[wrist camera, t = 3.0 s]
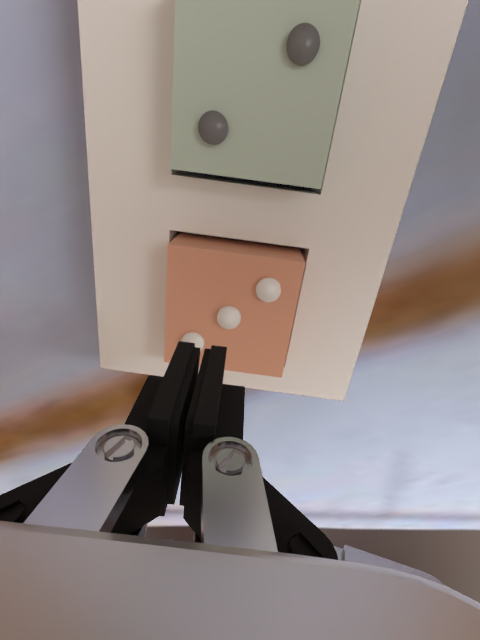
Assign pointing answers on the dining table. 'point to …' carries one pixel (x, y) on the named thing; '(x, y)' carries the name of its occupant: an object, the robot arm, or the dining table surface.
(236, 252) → the tile three
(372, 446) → the dining table surface
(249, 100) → the tile two
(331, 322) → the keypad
